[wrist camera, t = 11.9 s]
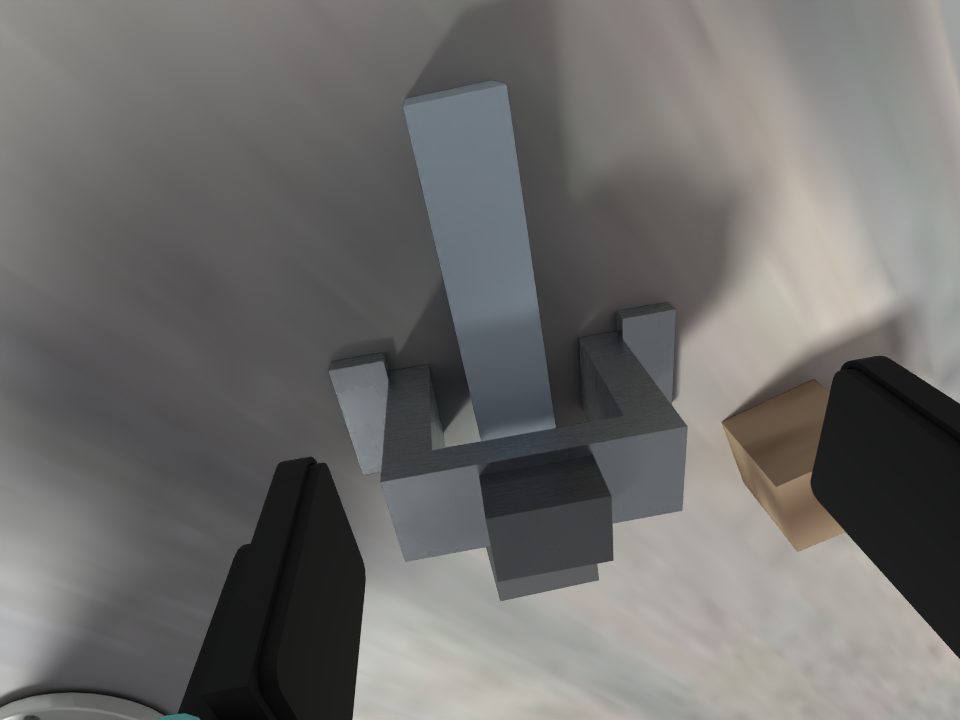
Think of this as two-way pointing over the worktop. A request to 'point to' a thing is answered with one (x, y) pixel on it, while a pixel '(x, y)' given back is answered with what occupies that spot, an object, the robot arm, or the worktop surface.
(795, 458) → the tan block
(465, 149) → the plug
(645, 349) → the grey u-shaped bracket
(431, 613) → the worktop surface
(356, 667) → the robot arm
